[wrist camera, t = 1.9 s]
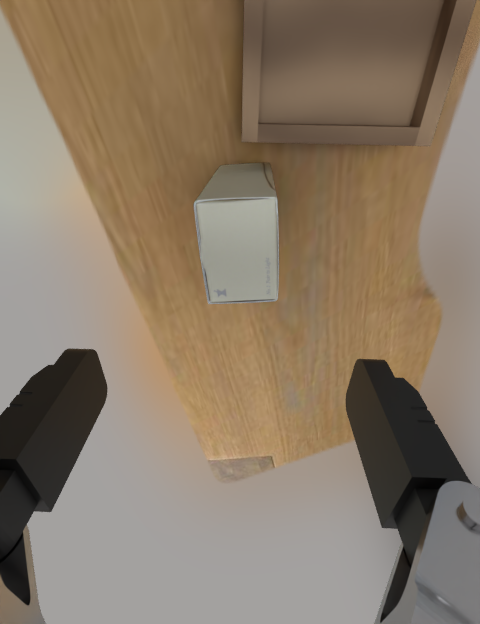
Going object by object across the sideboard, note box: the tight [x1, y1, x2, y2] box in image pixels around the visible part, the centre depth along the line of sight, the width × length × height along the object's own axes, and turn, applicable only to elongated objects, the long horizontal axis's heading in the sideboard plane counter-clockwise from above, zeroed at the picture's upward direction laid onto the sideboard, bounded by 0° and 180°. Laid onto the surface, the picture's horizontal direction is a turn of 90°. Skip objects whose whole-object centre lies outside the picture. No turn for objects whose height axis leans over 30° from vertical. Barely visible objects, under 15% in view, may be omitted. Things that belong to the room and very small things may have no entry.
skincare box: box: [194, 163, 279, 304], centre depth 22 cm, size 6×4×12 cm
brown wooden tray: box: [242, 0, 476, 146], centre depth 19 cm, size 12×12×6 cm
